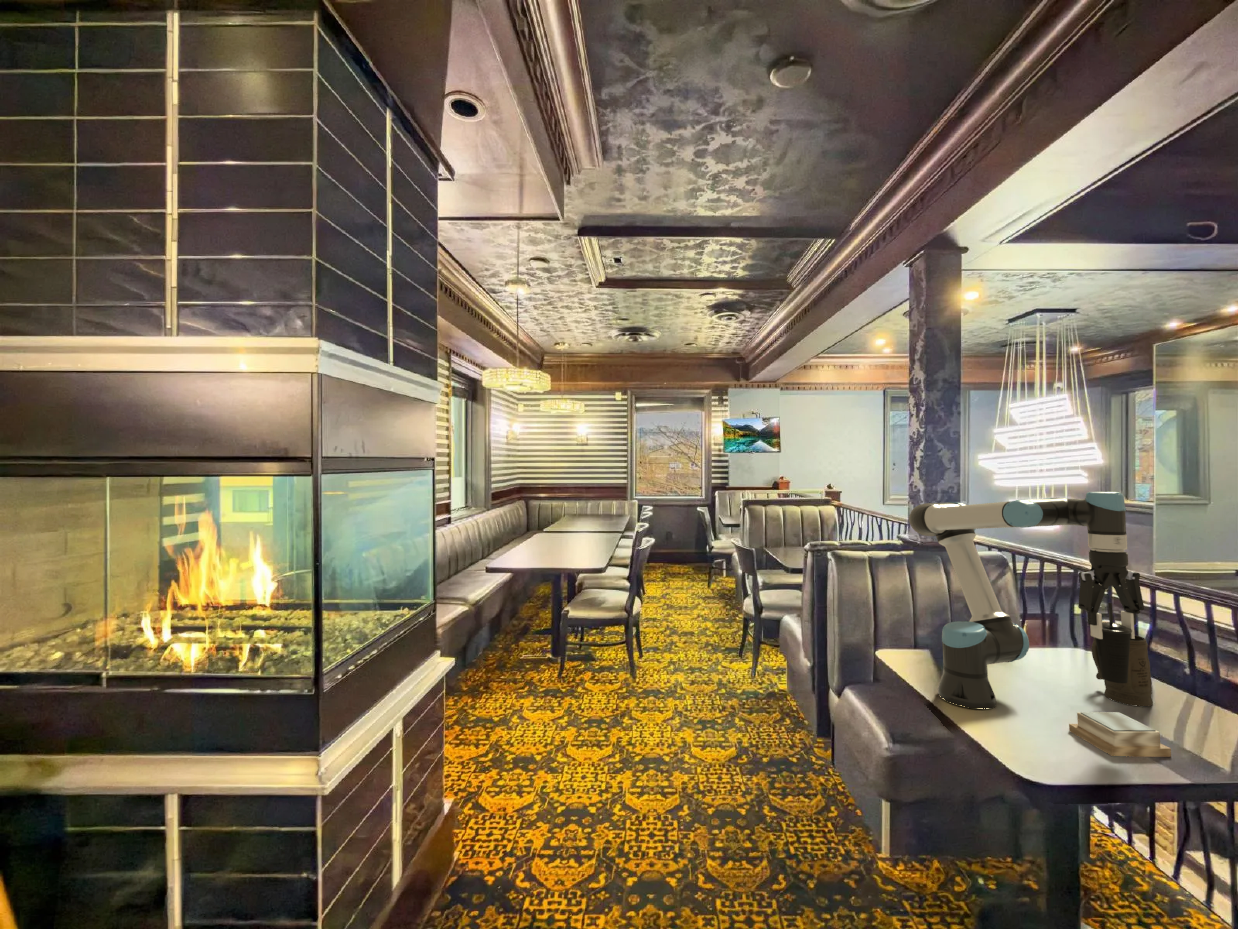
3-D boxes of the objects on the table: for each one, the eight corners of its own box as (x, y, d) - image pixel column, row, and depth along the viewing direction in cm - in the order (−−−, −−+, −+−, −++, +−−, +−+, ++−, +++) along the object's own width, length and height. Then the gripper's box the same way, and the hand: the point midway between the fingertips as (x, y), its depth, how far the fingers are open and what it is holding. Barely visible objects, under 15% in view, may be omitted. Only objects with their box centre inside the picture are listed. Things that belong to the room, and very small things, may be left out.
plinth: (1112, 756, 128) (1111, 733, 128) (1069, 731, 141) (1068, 709, 141) (1171, 756, 128) (1169, 733, 128) (1122, 731, 140) (1121, 709, 141)
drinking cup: (1128, 688, 130) (1123, 608, 130) (1089, 678, 136) (1085, 602, 137) (1140, 681, 133) (1135, 604, 134) (1102, 672, 140) (1098, 598, 141)
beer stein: (1165, 705, 155) (1155, 637, 157) (1141, 710, 152) (1132, 641, 154) (1105, 689, 170) (1097, 627, 172) (1082, 693, 167) (1074, 630, 169)
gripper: (1080, 552, 133) (1084, 642, 132) (1161, 551, 132) (1167, 641, 131) (1056, 548, 140) (1061, 633, 139) (1134, 547, 139) (1138, 632, 138)
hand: (1112, 637), depth 135 cm, fingers closed on drinking cup, 7 cm apart
